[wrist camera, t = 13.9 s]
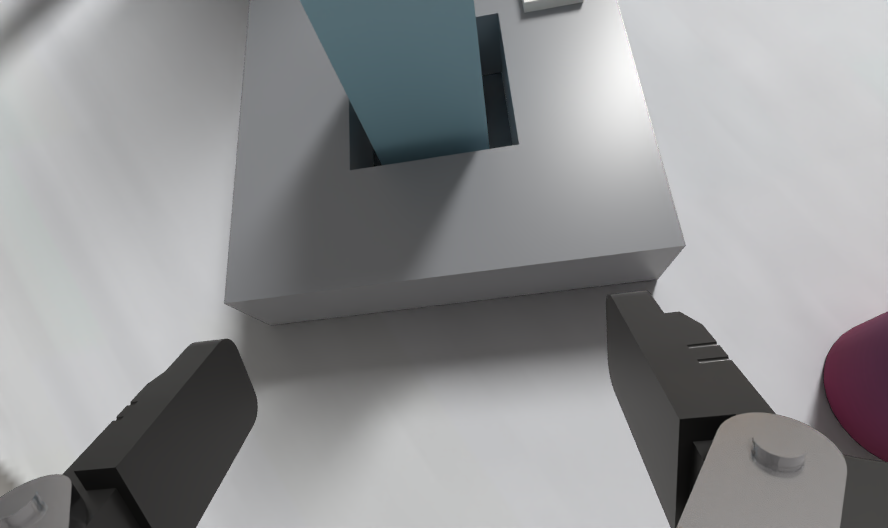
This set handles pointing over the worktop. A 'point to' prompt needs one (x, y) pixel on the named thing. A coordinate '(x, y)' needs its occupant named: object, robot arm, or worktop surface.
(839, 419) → the cup
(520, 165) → the socket
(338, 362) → the worktop surface
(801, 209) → the worktop surface
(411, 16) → the white-topped blue pillar
